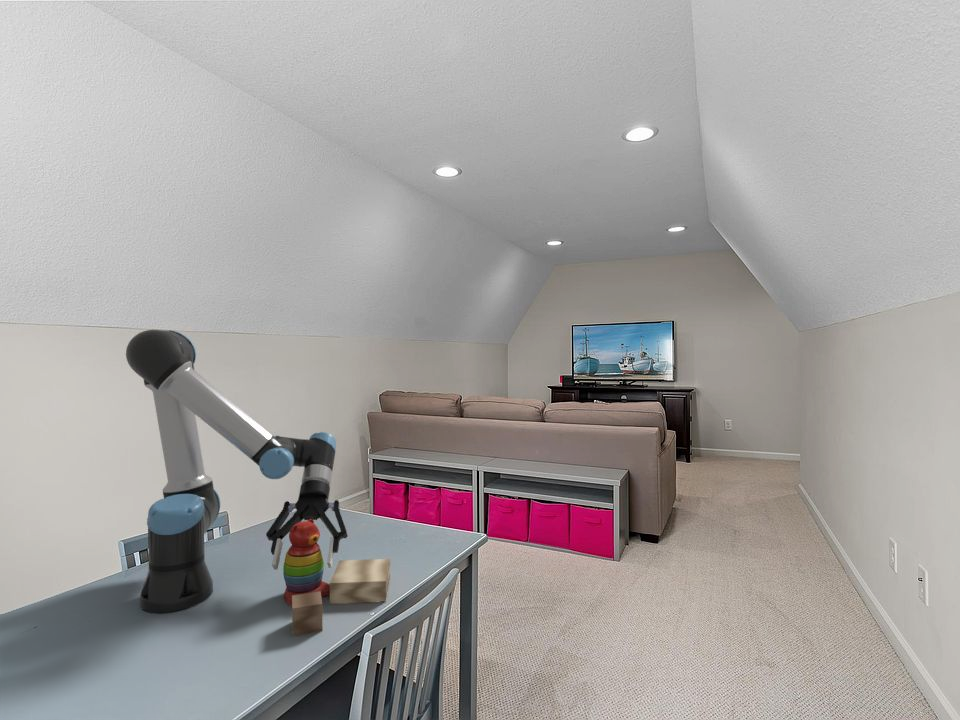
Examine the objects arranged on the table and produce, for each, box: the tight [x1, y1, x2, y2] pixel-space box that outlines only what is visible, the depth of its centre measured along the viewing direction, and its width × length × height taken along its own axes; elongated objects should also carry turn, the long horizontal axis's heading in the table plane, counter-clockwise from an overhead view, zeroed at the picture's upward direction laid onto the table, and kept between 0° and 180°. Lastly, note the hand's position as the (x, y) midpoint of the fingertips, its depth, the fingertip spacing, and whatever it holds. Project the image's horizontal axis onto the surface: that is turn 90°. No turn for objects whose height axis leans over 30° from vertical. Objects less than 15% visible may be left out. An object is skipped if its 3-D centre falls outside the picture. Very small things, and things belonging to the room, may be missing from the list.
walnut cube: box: [291, 591, 323, 637], centre depth 113 cm, size 6×6×6 cm
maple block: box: [329, 558, 391, 605], centre depth 130 cm, size 13×13×5 cm
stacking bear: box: [282, 519, 330, 607], centre depth 128 cm, size 11×10×18 cm
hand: (302, 566), depth 125 cm, fingers open, 12 cm apart
